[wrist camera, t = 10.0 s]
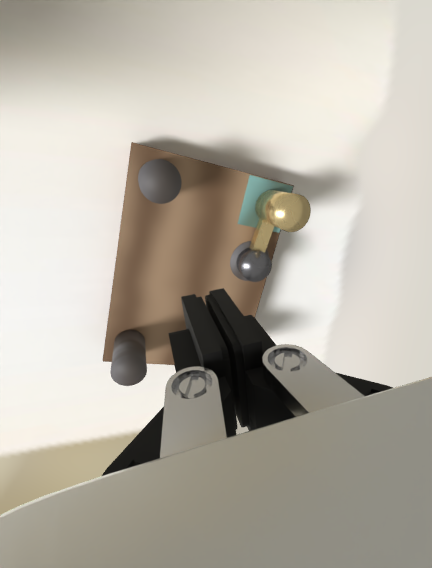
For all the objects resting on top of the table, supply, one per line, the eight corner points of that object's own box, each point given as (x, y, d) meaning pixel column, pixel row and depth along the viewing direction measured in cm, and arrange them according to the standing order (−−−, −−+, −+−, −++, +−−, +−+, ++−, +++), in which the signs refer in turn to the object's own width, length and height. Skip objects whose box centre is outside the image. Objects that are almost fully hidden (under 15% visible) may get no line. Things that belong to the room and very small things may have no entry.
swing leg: (258, 278, 33) (278, 296, 28) (232, 272, 32) (248, 290, 27) (289, 195, 30) (316, 200, 26) (261, 185, 29) (284, 189, 25)
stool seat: (105, 346, 35) (97, 393, 28) (131, 144, 28) (130, 137, 21) (232, 354, 40) (254, 396, 33) (280, 184, 33) (321, 188, 26)
